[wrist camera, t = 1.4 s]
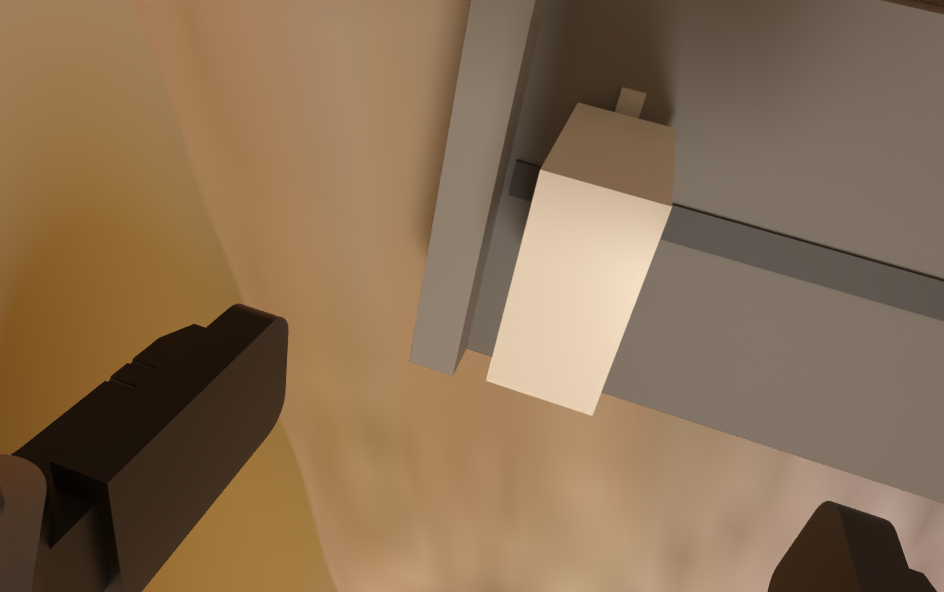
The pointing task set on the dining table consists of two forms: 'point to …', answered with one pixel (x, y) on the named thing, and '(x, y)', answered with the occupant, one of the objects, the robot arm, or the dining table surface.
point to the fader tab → (584, 256)
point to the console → (729, 212)
